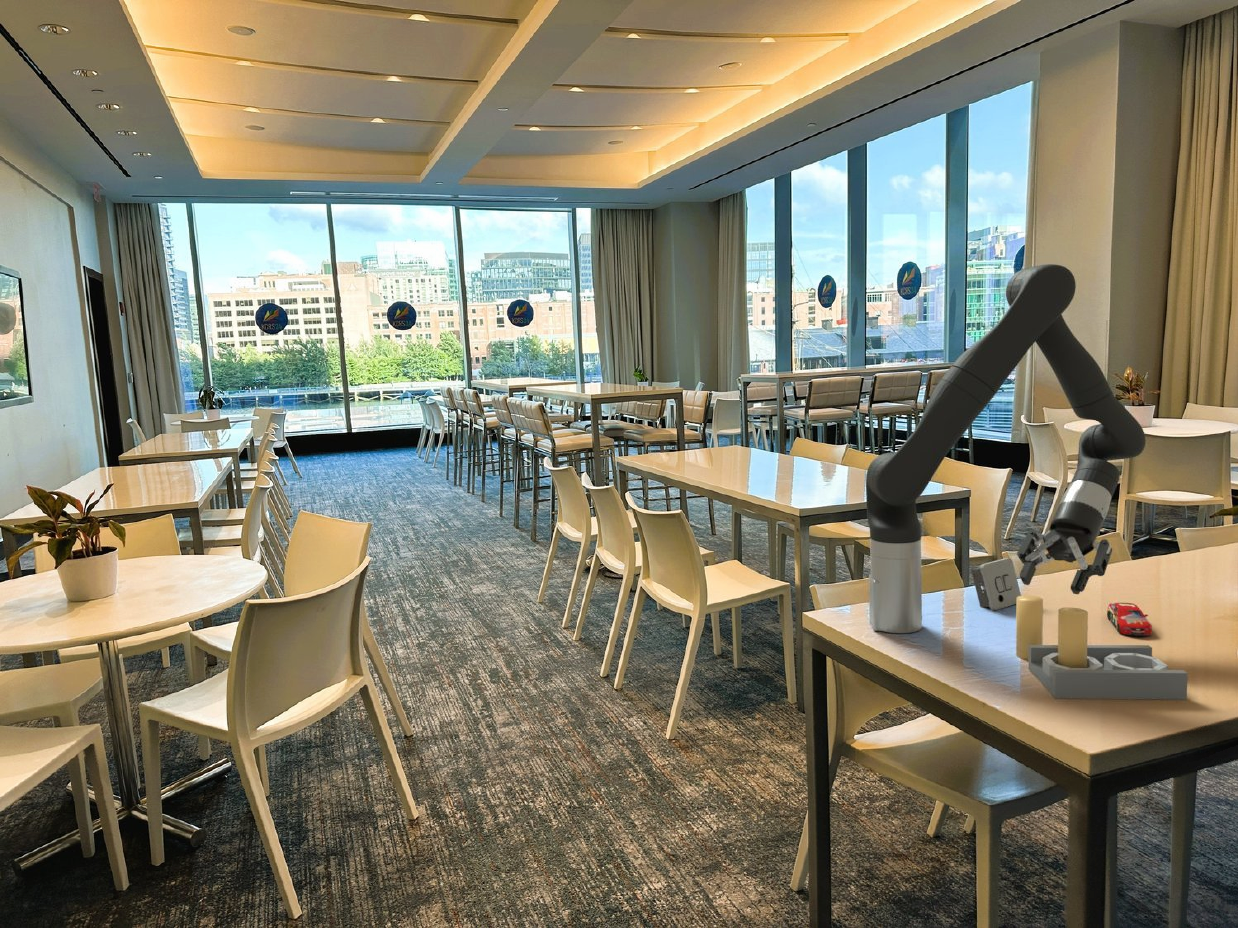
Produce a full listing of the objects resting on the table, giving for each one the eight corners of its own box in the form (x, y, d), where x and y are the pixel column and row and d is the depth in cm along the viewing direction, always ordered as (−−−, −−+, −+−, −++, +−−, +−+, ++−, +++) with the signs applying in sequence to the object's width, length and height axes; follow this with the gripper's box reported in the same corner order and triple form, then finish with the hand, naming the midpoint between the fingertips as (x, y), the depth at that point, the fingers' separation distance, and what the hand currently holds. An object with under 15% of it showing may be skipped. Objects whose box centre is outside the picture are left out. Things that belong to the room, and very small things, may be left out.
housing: (1055, 698, 125) (1055, 623, 124) (1028, 668, 137) (1029, 600, 135) (1186, 699, 122) (1189, 623, 121) (1147, 669, 134) (1149, 599, 133)
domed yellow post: (1020, 660, 141) (1020, 602, 139) (1013, 651, 145) (1013, 595, 143) (1045, 660, 140) (1046, 602, 139) (1037, 651, 144) (1038, 595, 143)
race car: (1155, 640, 147) (1155, 618, 147) (1119, 638, 149) (1120, 617, 149) (1137, 617, 160) (1137, 597, 159) (1104, 616, 161) (1105, 595, 161)
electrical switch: (994, 612, 167) (990, 565, 166) (971, 608, 171) (967, 563, 171) (1023, 603, 171) (1019, 558, 171) (1000, 600, 176) (996, 556, 176)
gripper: (1034, 495, 154) (1001, 568, 149) (1117, 503, 143) (1084, 582, 137) (1048, 519, 158) (1016, 591, 152) (1130, 529, 146) (1099, 607, 141)
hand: (1048, 586), depth 145 cm, fingers open, 8 cm apart
